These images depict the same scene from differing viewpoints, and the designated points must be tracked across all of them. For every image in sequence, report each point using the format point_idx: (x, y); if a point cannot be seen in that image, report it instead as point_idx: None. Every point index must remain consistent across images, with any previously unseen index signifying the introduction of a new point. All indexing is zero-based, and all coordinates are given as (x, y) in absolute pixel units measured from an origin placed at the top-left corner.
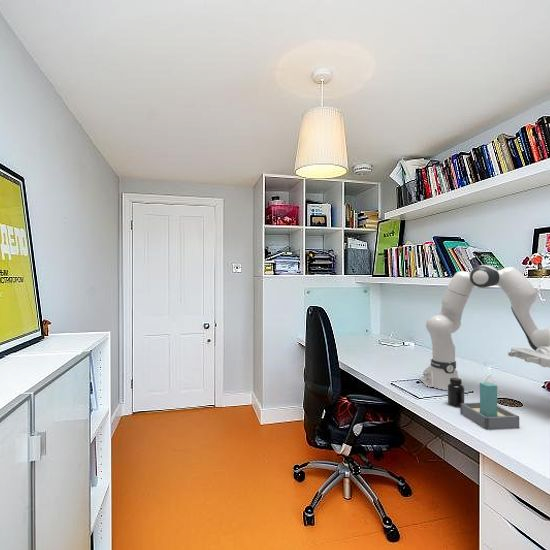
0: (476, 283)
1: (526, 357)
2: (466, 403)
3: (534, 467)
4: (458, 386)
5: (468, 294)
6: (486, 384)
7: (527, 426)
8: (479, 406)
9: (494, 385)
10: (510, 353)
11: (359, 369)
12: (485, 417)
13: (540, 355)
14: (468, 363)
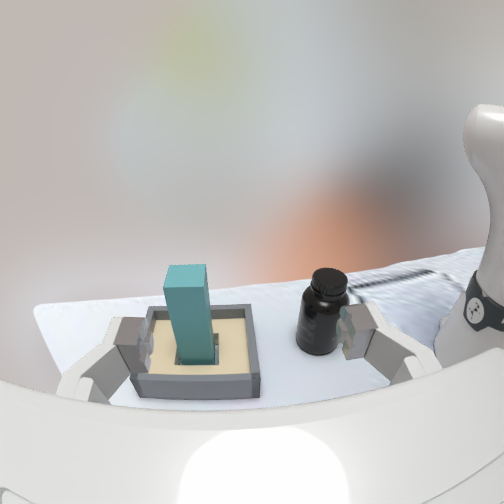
0: None
1: (136, 321)
2: (248, 314)
3: (43, 307)
4: (308, 292)
5: None
6: (184, 270)
7: None
8: (248, 350)
9: (167, 282)
10: (341, 307)
11: (480, 251)
12: (152, 306)
13: (70, 448)
14: None
